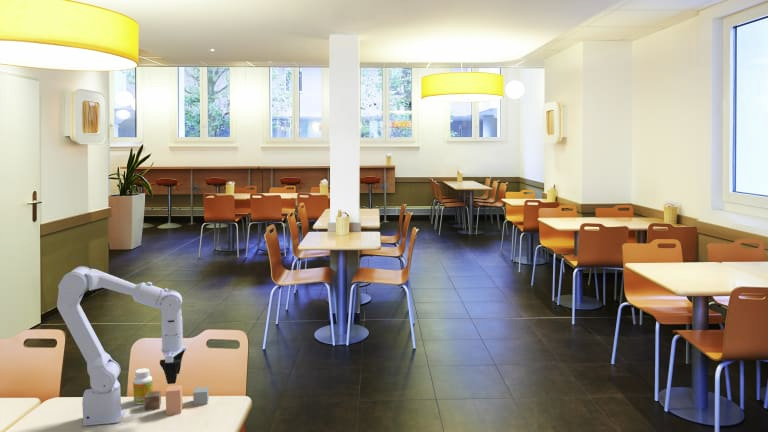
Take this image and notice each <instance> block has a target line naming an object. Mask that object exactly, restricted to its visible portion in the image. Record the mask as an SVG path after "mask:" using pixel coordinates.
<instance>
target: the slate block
mask: <svg viewBox="0 0 768 432" xmlns="http://www.w3.org/2000/svg"><path fill="white" fill-rule="evenodd" d="M192 396H193V406H202V405H208V403H209V386H198V387H194V389H193V394H192Z"/></svg>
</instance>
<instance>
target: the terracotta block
mask: <svg viewBox="0 0 768 432" xmlns="http://www.w3.org/2000/svg"><path fill="white" fill-rule="evenodd" d="M183 404H184V403H183V385H182V384H180V385H179V384H178V385H168V386H167V387H166V390H165V413H166V414H165V415H166V416H167V415H177V414H181V413H182V411H183V408H184V407H183Z"/></svg>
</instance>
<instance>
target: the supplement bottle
mask: <svg viewBox="0 0 768 432" xmlns="http://www.w3.org/2000/svg"><path fill="white" fill-rule="evenodd" d="M150 373H151V372H150V369H149V368H148V367H147V368H145V367H144V368H138V369H136V370H135V372H134V374H135V377H134V378H133V381H132V385H133V403H134V404H136V405H145V395H146V392H154V390H153V389H154V387H153V377H152V376H151V374H150Z"/></svg>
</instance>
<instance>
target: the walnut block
mask: <svg viewBox="0 0 768 432" xmlns="http://www.w3.org/2000/svg"><path fill="white" fill-rule="evenodd" d="M161 393H162V392H161V390H157V391H154V390H153V392H146V395H145V404H144V411H150V410H151V411H152V410H160V408H161V404H162V395H161Z"/></svg>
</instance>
